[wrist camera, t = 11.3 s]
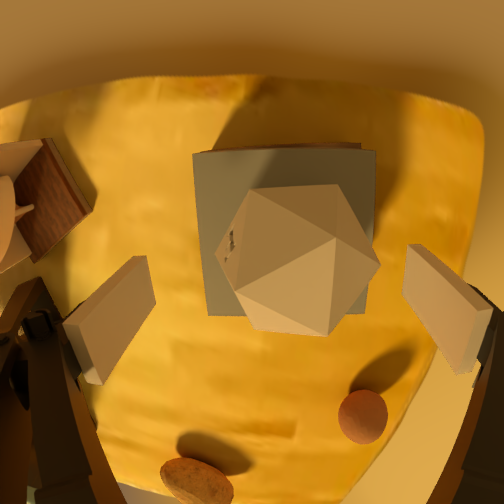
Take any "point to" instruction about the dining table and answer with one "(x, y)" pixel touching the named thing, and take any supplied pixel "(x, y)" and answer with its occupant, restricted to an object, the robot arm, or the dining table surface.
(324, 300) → the die
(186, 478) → the potato
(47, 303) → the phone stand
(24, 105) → the dining table surface
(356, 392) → the egg
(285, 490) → the dining table surface
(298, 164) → the block
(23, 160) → the display case
